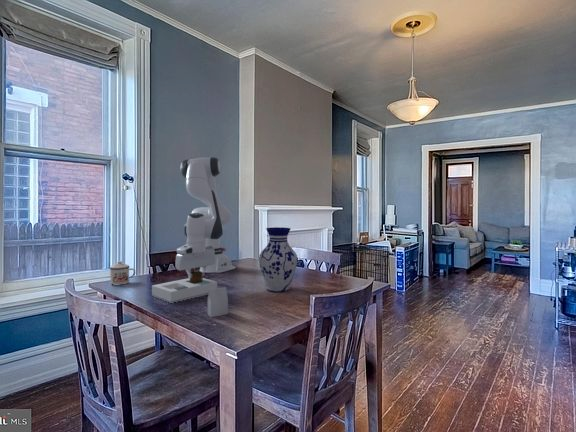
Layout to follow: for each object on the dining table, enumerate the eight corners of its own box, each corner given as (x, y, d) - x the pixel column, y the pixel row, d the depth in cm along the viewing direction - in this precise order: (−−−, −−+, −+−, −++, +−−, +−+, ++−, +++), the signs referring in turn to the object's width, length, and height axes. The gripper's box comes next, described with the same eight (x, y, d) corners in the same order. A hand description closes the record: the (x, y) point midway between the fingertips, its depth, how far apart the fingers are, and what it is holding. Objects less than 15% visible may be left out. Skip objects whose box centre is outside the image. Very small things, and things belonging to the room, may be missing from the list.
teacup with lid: (111, 286, 169) (111, 263, 169) (108, 282, 177) (108, 260, 176) (137, 283, 176) (136, 261, 175) (133, 279, 183) (133, 258, 183)
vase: (293, 296, 155) (294, 230, 154) (253, 293, 159) (253, 229, 157) (300, 285, 174) (300, 227, 172) (264, 283, 177) (264, 226, 176)
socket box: (197, 286, 171) (197, 275, 171) (217, 292, 160) (217, 281, 160) (151, 296, 153) (151, 284, 152) (170, 303, 142) (170, 291, 142)
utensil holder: (192, 289, 157) (192, 263, 156) (187, 286, 162) (187, 261, 161) (204, 287, 160) (204, 261, 160) (199, 284, 165) (199, 259, 165)
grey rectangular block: (227, 314, 130) (227, 288, 130) (211, 317, 126) (210, 290, 126) (224, 311, 133) (224, 286, 133) (207, 314, 130) (207, 288, 129)
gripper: (210, 245, 170) (210, 272, 171) (173, 249, 155) (173, 279, 155) (218, 246, 166) (218, 274, 167) (180, 250, 151) (181, 281, 151)
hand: (196, 276), depth 161 cm, fingers closed on utensil holder, 5 cm apart
